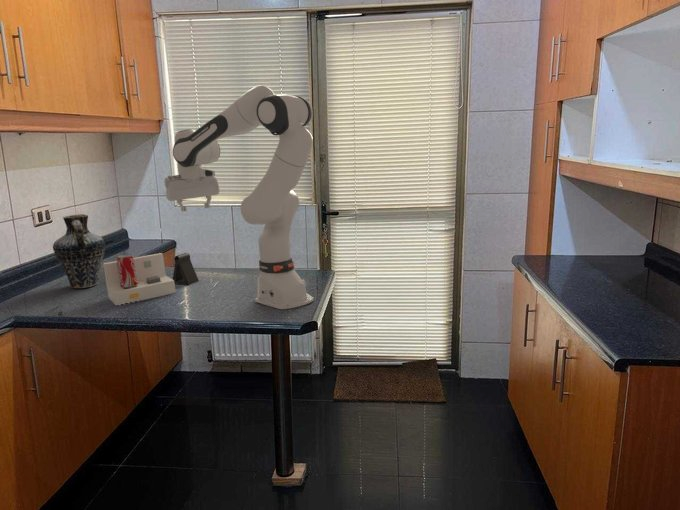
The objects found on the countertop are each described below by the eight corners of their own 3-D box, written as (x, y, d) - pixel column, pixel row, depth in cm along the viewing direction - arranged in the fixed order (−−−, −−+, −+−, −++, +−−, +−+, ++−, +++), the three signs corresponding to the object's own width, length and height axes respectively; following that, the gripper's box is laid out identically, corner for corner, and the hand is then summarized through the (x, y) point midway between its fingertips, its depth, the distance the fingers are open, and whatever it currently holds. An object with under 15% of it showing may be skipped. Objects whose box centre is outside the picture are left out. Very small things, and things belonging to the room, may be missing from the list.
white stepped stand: (176, 292, 200) (171, 258, 196) (116, 306, 187) (110, 269, 184) (165, 286, 209) (161, 252, 206) (108, 298, 197) (103, 263, 194)
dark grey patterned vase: (55, 286, 218) (42, 216, 211) (103, 276, 230) (92, 210, 223) (67, 296, 203) (53, 221, 195) (118, 285, 215) (106, 214, 207)
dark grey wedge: (172, 283, 213) (168, 255, 210) (182, 279, 218) (178, 252, 215) (188, 285, 209) (185, 256, 206) (198, 281, 214) (195, 253, 211)
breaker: (161, 287, 199) (159, 277, 198) (150, 289, 197) (149, 279, 196) (158, 285, 202) (156, 275, 201) (147, 287, 200) (146, 277, 199)
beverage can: (134, 288, 191) (129, 257, 188) (117, 289, 191) (112, 258, 188) (141, 283, 197) (136, 253, 194) (125, 284, 197) (120, 254, 194)
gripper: (166, 176, 187) (172, 214, 190) (218, 170, 199) (223, 206, 202) (160, 176, 192) (166, 212, 195) (212, 170, 204) (216, 205, 207)
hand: (195, 209), depth 199 cm, fingers open, 8 cm apart
